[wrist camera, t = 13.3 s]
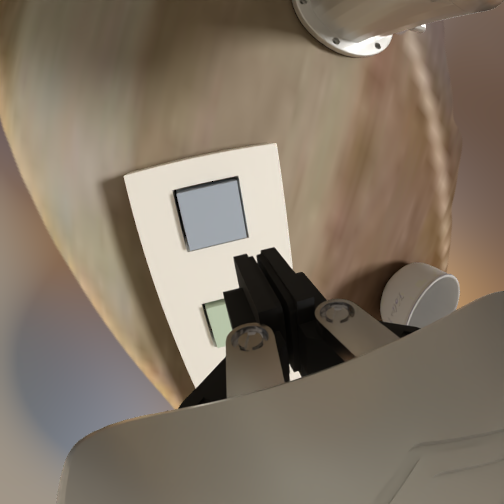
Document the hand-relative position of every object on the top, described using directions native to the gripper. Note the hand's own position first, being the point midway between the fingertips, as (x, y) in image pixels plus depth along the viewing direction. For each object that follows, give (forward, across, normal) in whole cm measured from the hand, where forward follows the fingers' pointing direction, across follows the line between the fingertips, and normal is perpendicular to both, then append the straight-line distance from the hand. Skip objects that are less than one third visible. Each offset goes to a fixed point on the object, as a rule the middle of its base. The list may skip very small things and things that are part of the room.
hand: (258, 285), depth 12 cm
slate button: (+15, +1, +1) cm, 15 cm away
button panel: (+17, +1, +12) cm, 20 cm away
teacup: (+17, -23, +19) cm, 35 cm away
